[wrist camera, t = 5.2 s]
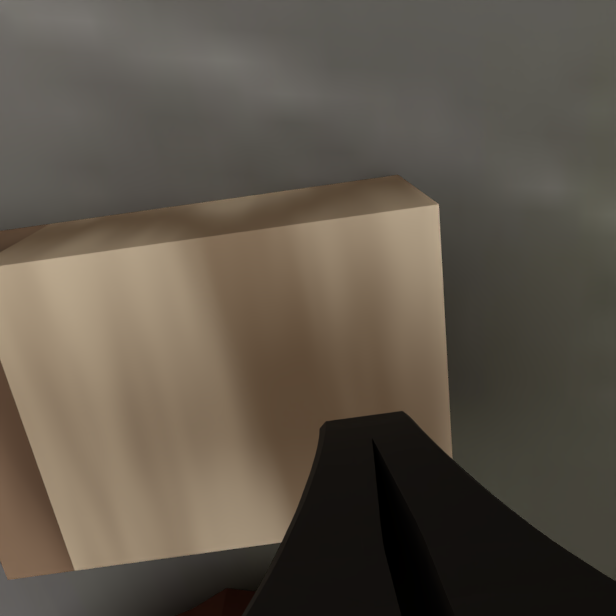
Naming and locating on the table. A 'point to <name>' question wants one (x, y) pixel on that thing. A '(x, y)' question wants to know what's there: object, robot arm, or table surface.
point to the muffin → (223, 604)
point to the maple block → (205, 365)
